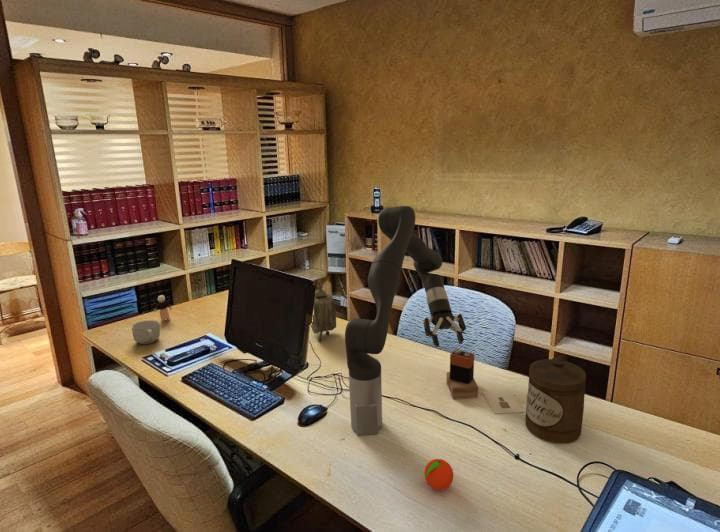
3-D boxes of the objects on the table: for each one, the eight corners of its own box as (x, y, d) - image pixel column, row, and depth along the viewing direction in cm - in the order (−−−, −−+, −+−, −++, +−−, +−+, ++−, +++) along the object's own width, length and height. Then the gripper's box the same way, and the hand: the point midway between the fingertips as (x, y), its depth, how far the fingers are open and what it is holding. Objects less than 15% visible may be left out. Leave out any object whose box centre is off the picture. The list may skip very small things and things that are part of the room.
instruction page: (523, 412, 143) (523, 411, 143) (493, 413, 143) (493, 412, 142) (510, 391, 154) (510, 390, 154) (482, 392, 154) (482, 391, 154)
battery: (454, 373, 159) (454, 346, 156) (473, 378, 155) (474, 351, 152) (449, 379, 155) (449, 351, 152) (469, 384, 151) (470, 356, 149)
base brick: (477, 397, 151) (478, 386, 150) (452, 398, 151) (453, 387, 150) (469, 381, 161) (470, 371, 160) (446, 382, 161) (446, 372, 160)
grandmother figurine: (171, 317, 227) (167, 292, 223) (174, 319, 224) (170, 294, 221) (155, 321, 222) (150, 296, 219) (157, 324, 219) (153, 298, 216)
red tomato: (435, 503, 109) (435, 477, 107) (415, 486, 115) (415, 461, 113) (459, 488, 114) (460, 463, 112) (438, 472, 119) (439, 448, 117)
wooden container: (514, 419, 139) (518, 352, 133) (554, 408, 144) (560, 342, 138) (550, 450, 126) (557, 376, 120) (593, 436, 131) (601, 364, 125)
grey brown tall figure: (309, 330, 207) (305, 276, 200) (329, 327, 209) (326, 273, 202) (316, 344, 193) (312, 286, 186) (337, 340, 196) (335, 283, 189)
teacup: (134, 339, 204) (131, 322, 202) (161, 334, 208) (158, 317, 206) (134, 352, 192) (131, 333, 190) (163, 346, 196) (160, 328, 194)
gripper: (421, 299, 166) (432, 343, 158) (459, 295, 169) (472, 338, 161) (417, 308, 172) (427, 350, 165) (453, 304, 175) (465, 346, 167)
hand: (449, 344), depth 163 cm, fingers open, 8 cm apart
